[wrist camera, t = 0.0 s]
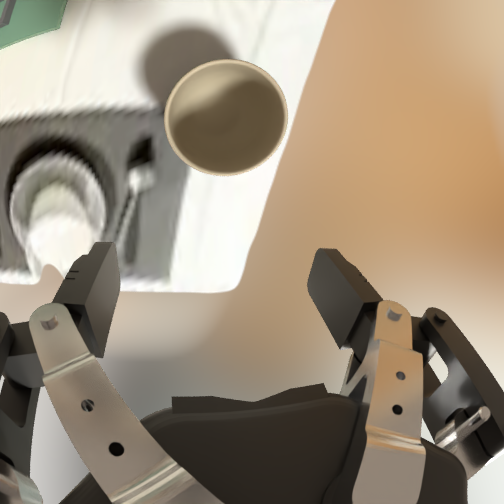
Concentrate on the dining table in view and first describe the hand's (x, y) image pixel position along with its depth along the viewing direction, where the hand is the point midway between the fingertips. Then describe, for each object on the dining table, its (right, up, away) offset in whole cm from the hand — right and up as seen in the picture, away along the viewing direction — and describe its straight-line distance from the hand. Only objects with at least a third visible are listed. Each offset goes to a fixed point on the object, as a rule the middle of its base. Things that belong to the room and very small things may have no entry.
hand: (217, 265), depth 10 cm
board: (-35, +40, +3) cm, 53 cm away
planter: (-3, +19, +23) cm, 30 cm away
